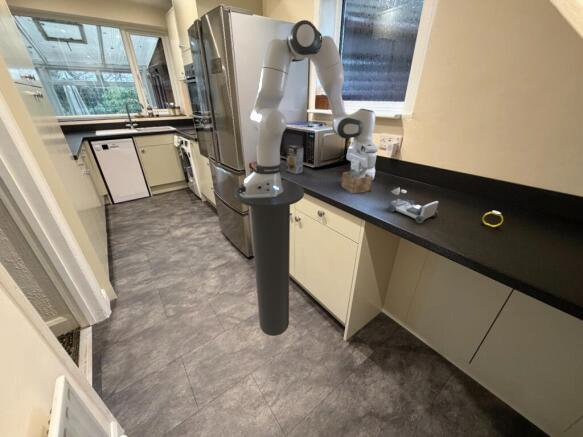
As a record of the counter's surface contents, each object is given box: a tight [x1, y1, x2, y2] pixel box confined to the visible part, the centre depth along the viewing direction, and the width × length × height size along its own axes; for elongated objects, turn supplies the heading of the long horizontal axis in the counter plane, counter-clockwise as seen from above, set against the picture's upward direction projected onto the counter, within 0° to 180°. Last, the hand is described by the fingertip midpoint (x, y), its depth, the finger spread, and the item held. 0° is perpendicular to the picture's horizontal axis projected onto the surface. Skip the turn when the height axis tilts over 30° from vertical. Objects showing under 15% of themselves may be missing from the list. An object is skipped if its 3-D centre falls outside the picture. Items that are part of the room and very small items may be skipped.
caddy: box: [340, 171, 374, 194], centre depth 123 cm, size 11×11×8 cm
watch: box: [481, 210, 504, 228], centre depth 90 cm, size 6×3×6 cm, turn 48°
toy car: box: [388, 186, 439, 224], centre depth 98 cm, size 18×10×12 cm
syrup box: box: [349, 159, 366, 178], centre depth 121 cm, size 6×6×14 cm
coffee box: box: [286, 144, 304, 175], centre depth 148 cm, size 9×6×16 cm
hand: (357, 172), depth 121 cm, fingers open, 6 cm apart
